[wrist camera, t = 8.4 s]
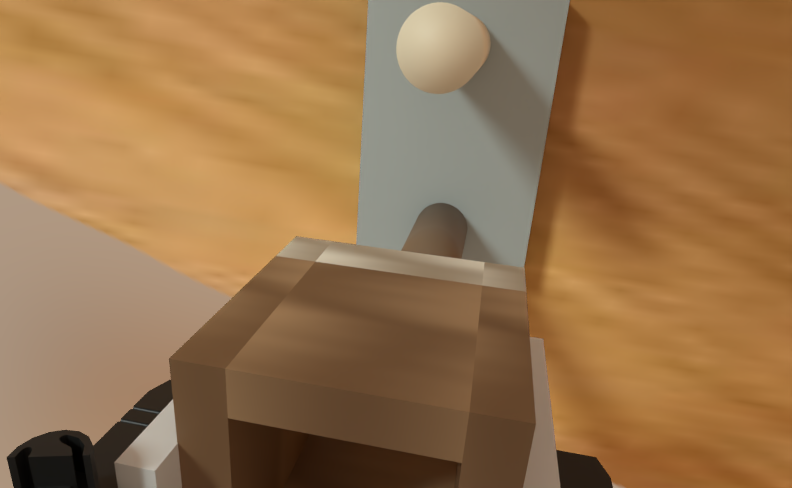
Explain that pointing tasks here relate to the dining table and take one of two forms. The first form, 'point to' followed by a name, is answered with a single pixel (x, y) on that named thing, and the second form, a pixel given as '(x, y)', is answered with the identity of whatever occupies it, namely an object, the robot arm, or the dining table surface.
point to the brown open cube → (360, 375)
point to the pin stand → (456, 124)
